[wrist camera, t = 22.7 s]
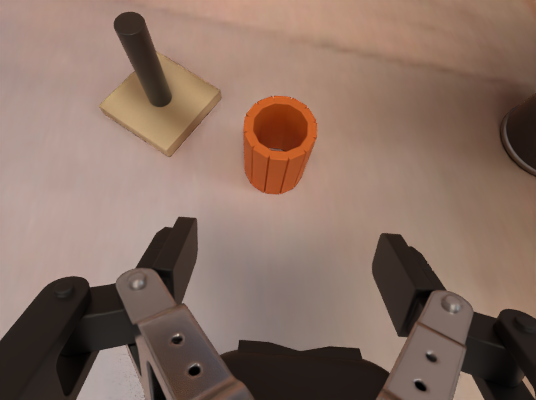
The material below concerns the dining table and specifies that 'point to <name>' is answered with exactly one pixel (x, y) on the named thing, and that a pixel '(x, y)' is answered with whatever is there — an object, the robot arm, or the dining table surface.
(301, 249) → the dining table surface
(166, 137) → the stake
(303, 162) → the orange collar
